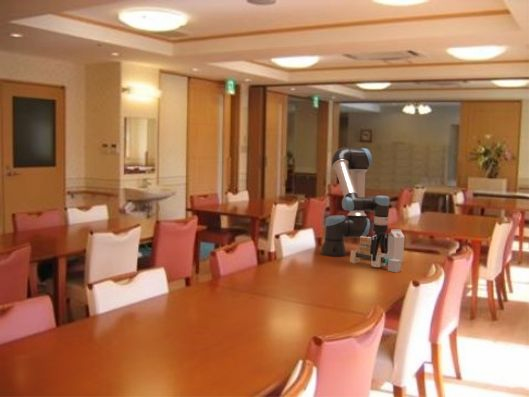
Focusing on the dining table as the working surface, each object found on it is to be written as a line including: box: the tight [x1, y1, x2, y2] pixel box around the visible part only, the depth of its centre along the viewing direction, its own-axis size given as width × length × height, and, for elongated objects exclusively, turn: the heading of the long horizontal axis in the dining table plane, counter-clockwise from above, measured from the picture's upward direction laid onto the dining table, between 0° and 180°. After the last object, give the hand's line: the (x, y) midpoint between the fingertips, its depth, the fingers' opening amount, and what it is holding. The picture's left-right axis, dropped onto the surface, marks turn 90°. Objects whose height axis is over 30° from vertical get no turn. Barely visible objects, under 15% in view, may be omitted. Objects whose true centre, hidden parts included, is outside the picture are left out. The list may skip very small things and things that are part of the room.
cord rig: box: [349, 249, 402, 273], centre depth 312 cm, size 30×5×7 cm, turn 46°
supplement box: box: [358, 236, 372, 261], centre depth 332 cm, size 8×5×13 cm, turn 73°
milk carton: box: [386, 228, 405, 263], centre depth 328 cm, size 7×7×19 cm
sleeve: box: [370, 251, 386, 268], centre depth 310 cm, size 5×6×7 cm
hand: (378, 265), depth 311 cm, fingers closed on sleeve, 6 cm apart
